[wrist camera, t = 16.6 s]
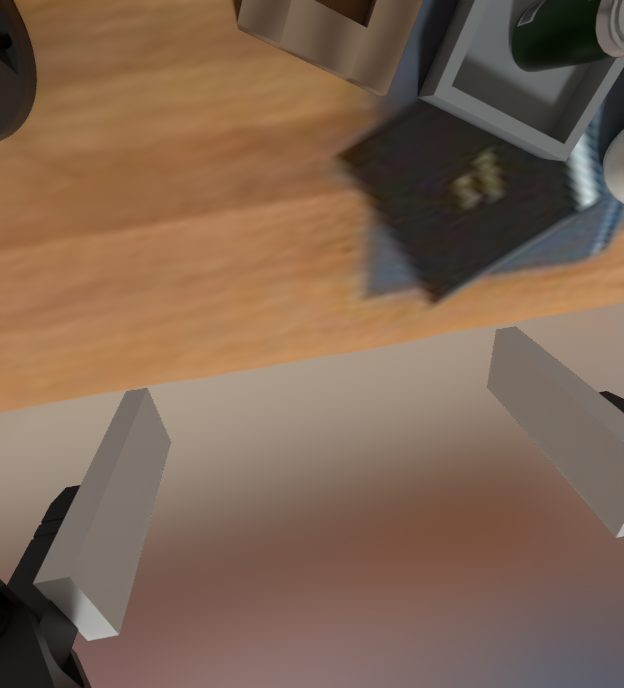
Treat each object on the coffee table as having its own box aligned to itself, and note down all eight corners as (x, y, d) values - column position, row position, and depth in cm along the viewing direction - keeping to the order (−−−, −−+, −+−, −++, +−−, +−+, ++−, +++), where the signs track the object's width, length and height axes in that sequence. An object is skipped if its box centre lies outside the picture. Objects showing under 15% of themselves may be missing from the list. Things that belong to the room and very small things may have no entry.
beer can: (495, 52, 36) (590, 25, 25) (534, -15, 33) (657, -74, 23) (534, 84, 37) (639, 71, 27) (574, 23, 35) (704, -17, 25)
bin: (417, 97, 37) (433, 95, 34) (510, -125, 30) (542, -156, 27) (540, 157, 42) (565, 161, 38) (646, -24, 35) (688, -39, 31)
